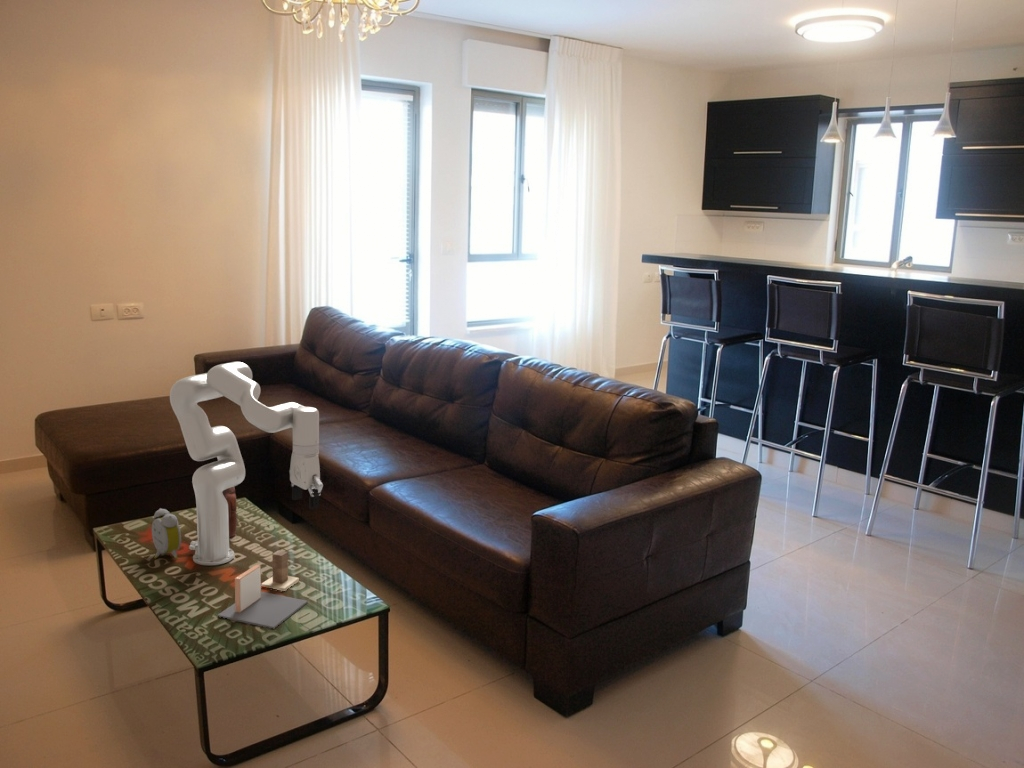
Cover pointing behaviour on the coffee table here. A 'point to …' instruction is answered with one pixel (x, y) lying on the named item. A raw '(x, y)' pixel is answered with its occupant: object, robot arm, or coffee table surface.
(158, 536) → the alarm clock
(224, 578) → the coffee table surface
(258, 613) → the mat
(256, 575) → the tile
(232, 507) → the wooden figurine
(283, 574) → the square post stand
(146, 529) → the coffee table surface
